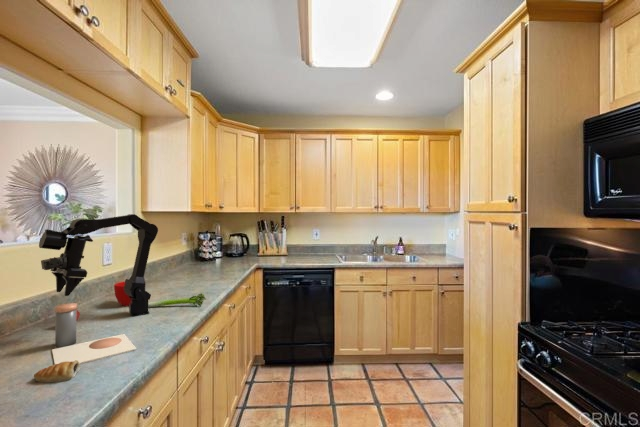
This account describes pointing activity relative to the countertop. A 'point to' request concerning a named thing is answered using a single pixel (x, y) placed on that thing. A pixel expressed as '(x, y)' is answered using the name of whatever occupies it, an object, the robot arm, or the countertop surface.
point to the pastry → (58, 372)
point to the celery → (179, 301)
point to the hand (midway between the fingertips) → (62, 293)
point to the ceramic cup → (121, 294)
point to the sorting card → (93, 350)
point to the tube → (65, 324)
